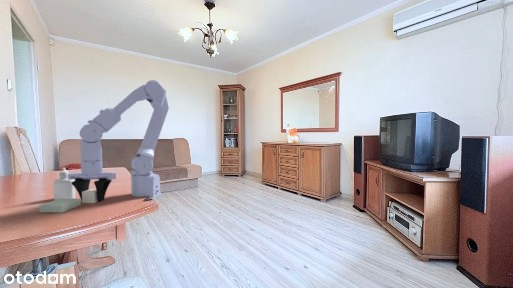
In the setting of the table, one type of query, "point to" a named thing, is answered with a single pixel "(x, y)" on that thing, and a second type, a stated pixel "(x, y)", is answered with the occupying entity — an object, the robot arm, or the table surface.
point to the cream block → (89, 196)
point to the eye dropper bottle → (64, 186)
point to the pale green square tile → (64, 211)
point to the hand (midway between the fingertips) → (92, 200)
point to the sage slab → (59, 205)
